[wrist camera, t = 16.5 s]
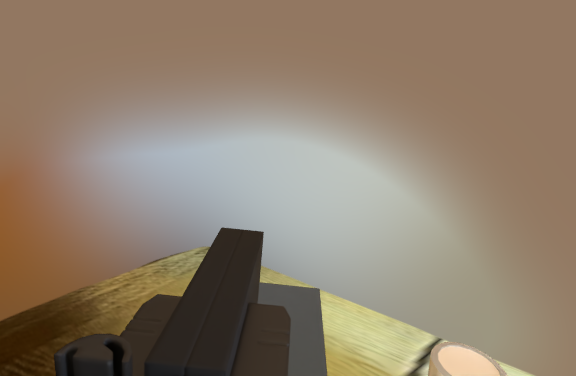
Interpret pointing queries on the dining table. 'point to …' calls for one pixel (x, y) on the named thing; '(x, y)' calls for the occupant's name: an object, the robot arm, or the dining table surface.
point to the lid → (300, 326)
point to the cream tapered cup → (462, 361)
